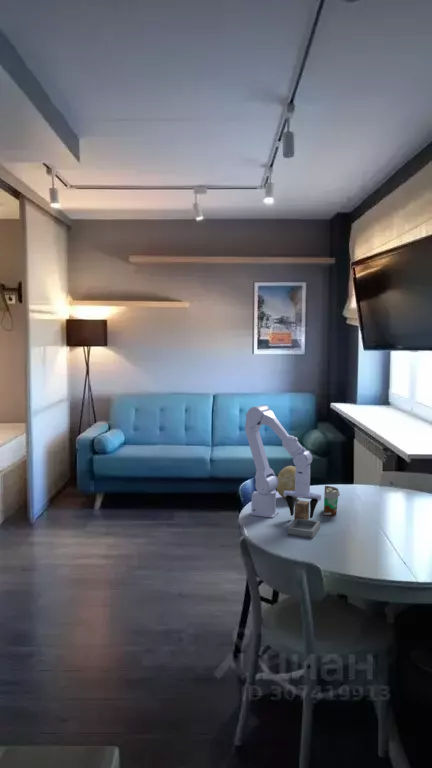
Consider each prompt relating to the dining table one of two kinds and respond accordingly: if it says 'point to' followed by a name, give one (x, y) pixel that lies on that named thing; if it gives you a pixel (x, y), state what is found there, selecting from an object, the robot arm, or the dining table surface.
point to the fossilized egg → (286, 480)
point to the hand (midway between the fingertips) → (301, 516)
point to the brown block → (302, 510)
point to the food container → (330, 501)
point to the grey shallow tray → (304, 528)
